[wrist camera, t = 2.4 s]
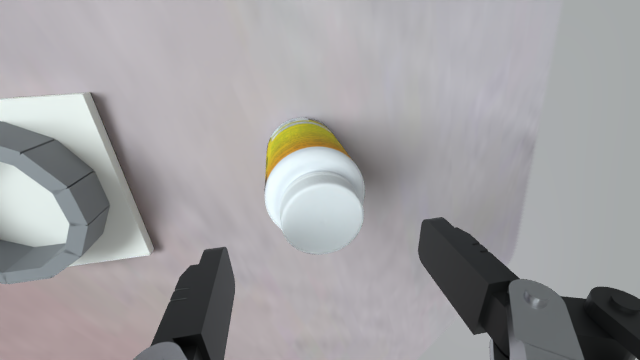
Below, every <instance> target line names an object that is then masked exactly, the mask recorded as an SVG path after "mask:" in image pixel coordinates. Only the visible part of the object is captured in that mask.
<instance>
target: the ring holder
mask: <svg viewBox="0 0 640 360" xmlns="http://www.w3.org/2000/svg"><path fill="white" fill-rule="evenodd" d="M153 250H154V247H153V245H152V242H151V240H150V237H149V235H148V233H147V230H146V228H145V225H144V223H143V220H142V218H141V215H140V213H139V211H138V208H137V206H136V203H135V201H134V198H133V196H132V194H131V191H130V189H129V186H128V184H127V181H126V179H125V176H124V174H123V172H122V169H121V167H120V164H119V162H118V159H117V157H116V154H115V152H114V150H113V147H112V145H111V142H110V140H109V137H108V135H107V133H106V130H105V128H104V125H103V123H102V120H101V118H100V115H99V113H98V111H97V108H96V106H95V103H94V101H93V98H92V96H91V93H90V92H88V93H73V94H59V95H44V96H30V97H15V98H1V99H0V283H2V284H13V283H20V282H27V281H34V280H40V279H47V278H52V277H54V276H55V275H57V274H58V273H59V272H61V271H62V270H64V269H65V268H67V267H69V266H76V265H83V264H90V263H97V262H104V261H111V260H118V259H125V258H132V257H140V256H147V255H151V253H152V251H153Z"/></svg>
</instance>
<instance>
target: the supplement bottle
mask: <svg viewBox="0 0 640 360" xmlns="http://www.w3.org/2000/svg"><path fill="white" fill-rule="evenodd" d="M264 190H265V204H266V208H267V211H268V213H269V215H270V217H271V219H272V220H273V221H274V223H275V224H276V225H277V226H278V227H279V228H280V229H282V231H283V234H284V236H285V238H286V239H287V241H288V242H289V243H290V244H291V245H292V246H293V247H295V248H296V249H298V250H300V251H302V252H305V253H309V254H317V255H319V254H328V253H332V252H335V251H337V250H340V249H341V248H343V247H345V246H346V245H348V244H349V243H350V242H351V241H352V240H353V239H354V238H355V237H356V236H357V234H358V233H359V231H360V229H361V227H362V223H363V219H364V211H363V206H362V204H363V201H364V196H365V185H364V180H363V177H362V174H361V172H360V170H359V168H358V167H357V166H356V164H355V163H354V161H353V160H352V159H351V157H350V156H349V155H348V153H347V152H346V151H345V150H344V148H343V147H342V145H341V144H340V143H339V141H338V140H337V139H336V138H335V136H334V135H333V134H332V132H331V131H330V130H329V129H328V128H327V127H326V126H325V125H324V124H322V123H320V122H319V121H316V120H314V119H310V118H295V119H292V120H289V121H287V122H285V123H283V124H282V125H280V126H279V127H278V128H277V129H276V130H275V131H274V133H273V134H272V136H271V137H270V140H269V142H268V146H267V156H266V177H265V189H264Z"/></svg>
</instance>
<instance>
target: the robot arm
mask: <svg viewBox="0 0 640 360" xmlns="http://www.w3.org/2000/svg"><path fill="white" fill-rule="evenodd" d="M418 253H419V258H420V260H421V263H422V264H423V266H424V267H425V268H426V270H427V271H428V273H429V274H430V275H431V277H432V278H433V279H434V281H435V282H436V284H437V285H438V286H439V288H440V289H441V290H442V292H443V293H444V295H445V296H446V297H447V299H448V300H449V301H450V303H451V304H452V306H453V307H454V308H455V310H456V311H457V312H458V314H459V315H460V317H461V318H462V319H463V321H464V322H465V323H466V325H467V326H468V327H469V329H470V330H471V332H472V333H473V334H474V335H475V334H480V333H485V332H487V333H488V334H489V336H490V337H491V340H490V346H489V348H490V360H635V358H637V359H638V360H640V299H638V298H637V297H635V296H633V295H631V294H628V293H626V292H624V291H620V290H617V289H614V288H609V287H595V288H593V289H592V290H591V291H590V293H589V295H588V297H587V299H582V298H571V297H562V296H559V295H558V294H557V293H556V292H555V291H553V290H552V289H550V288H548V287H547V286H545V285H543V284H541V283H538V282H535V281H532V280H527V279H519V278H518V277H517V276H516V275H515V274H514V273H513V272H511V271H510V270H509V269H508V268H507V267H506V266H505V265H504V264H503V263H502V262H500V261H499V260H498V259H497V258H496V257H495V256H494V255H493V254H491V253H490V252H488V251H487V249H486V248H485V247H484V246H482V245H480V244H479V242H478V241H477V240H476V239H475V238H474V237H472V236H471V235H470V234H468V233H467V232H465V231H463V230H461V229H459V228H454V227H453V226H452V225H451V224H450V223H449V222H448V221H447V220H446V219H444V218H442V217H440V218H433V219H426V220H423V222H422V225H421V232H420V240H419V247H418ZM234 294H235V280H234V275H233V271H232V267H231V263H230V259H229V255H228V251H227V248H226V247H220V248H213V249H206V250H204V252H203V254H202V257H201V260H200V263H199V264H198V265H191V266H190V267H189V268H188V269H187V270H186V271H185V272H184V273H183V274H182V275H181V276H180V278H179V281H178V283H177V285H176V288H175V292H173V295H172V297H171V299H170V300H171V301H170V302H169V304H168V306H167V309H166V311H165V313H164V316H163V318H162V320H161V323H160V325H159V327H158V330H157V332H156V334H155V337H154V339H153V342H152V344H151V346H150V347H149V348H147V349H145V350H144V351H142V352H141V353H140V354H138V355H137V356H136V357H135V358H134V359H133V360H224V355H225V349H226V343H227V337H228V331H229V325H230V319H231V312H232V306H233V300H234Z"/></svg>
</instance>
